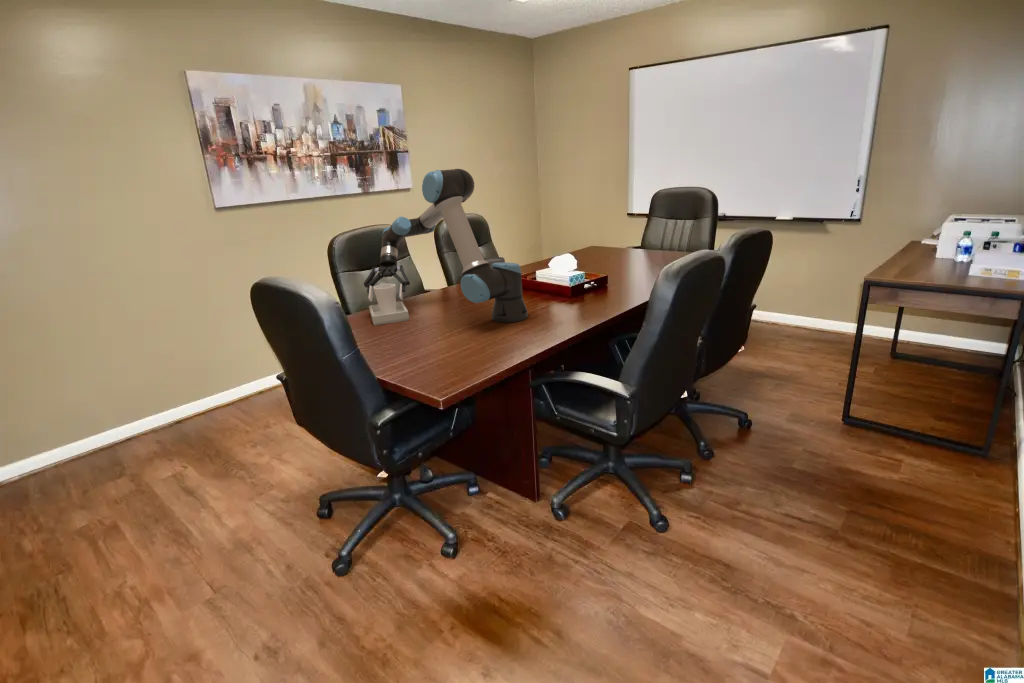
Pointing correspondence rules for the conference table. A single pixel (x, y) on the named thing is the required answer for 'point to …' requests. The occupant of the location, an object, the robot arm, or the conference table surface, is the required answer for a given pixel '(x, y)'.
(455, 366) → the conference table surface
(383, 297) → the foam cup
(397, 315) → the grey tray
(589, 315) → the conference table surface
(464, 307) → the conference table surface
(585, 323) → the conference table surface
